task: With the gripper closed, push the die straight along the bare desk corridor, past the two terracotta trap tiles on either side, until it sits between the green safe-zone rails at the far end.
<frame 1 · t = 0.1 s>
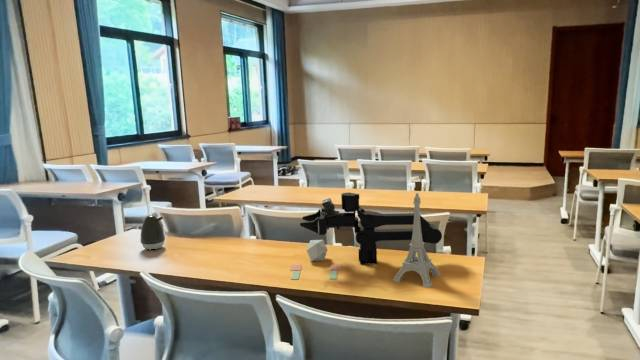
hand: (301, 221, 169), 17 cm above the table, tool horizontal, fingers open, 9 cm apart
pump dispenser: (154, 248, 195), on the table
die: (317, 260, 174), on the table
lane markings: (315, 271, 161), on the table
eiffel tower: (416, 278, 153), on the table
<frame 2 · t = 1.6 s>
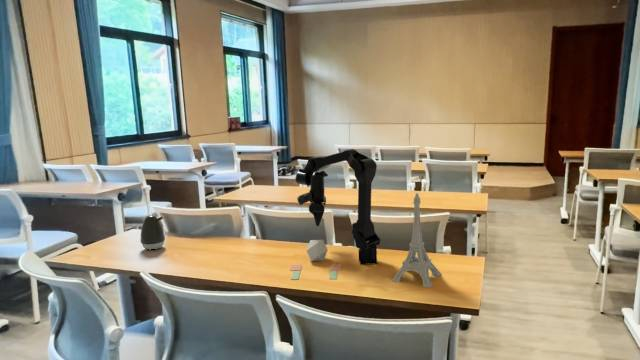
hand: (318, 222, 186), 11 cm above the table, tool pointing down, fingers open, 9 cm apart
nothing on the table moved.
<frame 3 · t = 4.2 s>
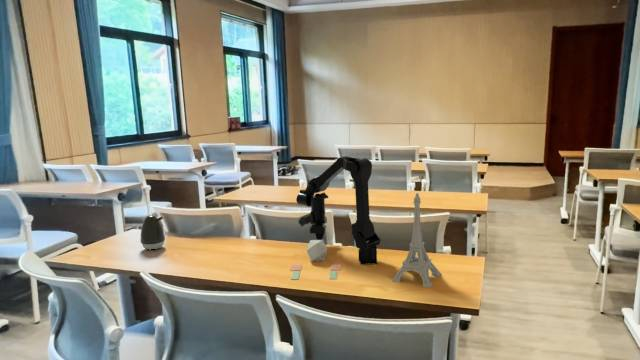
hand: (319, 243, 187), 2 cm above the table, tool pointing down, fingers closed
nothing on the table moved.
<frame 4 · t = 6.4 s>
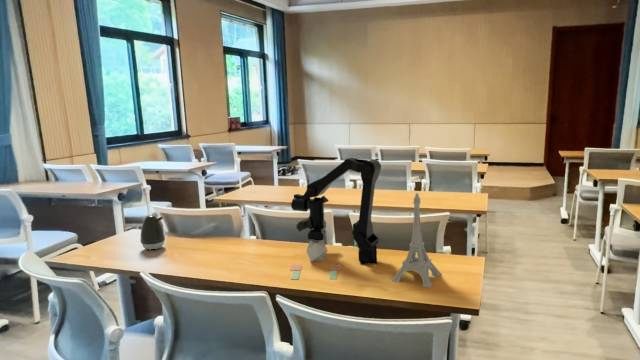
hand: (318, 249, 180), 2 cm above the table, tool pointing down, fingers closed
die: (317, 260, 173), on the table, touching gripper
everything else where it was.
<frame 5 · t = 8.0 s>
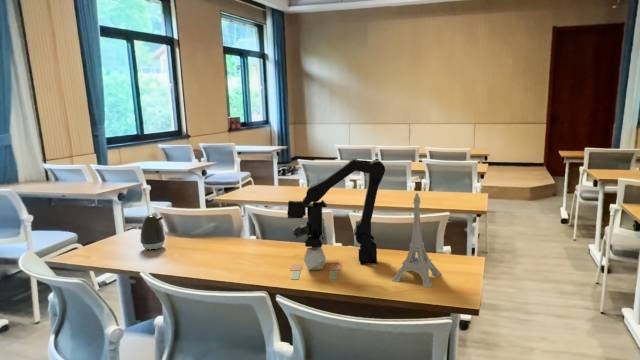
hand: (316, 257, 170), 2 cm above the table, tool pointing down, fingers closed
die: (315, 268, 164), on the table, touching gripper
everything else where it was.
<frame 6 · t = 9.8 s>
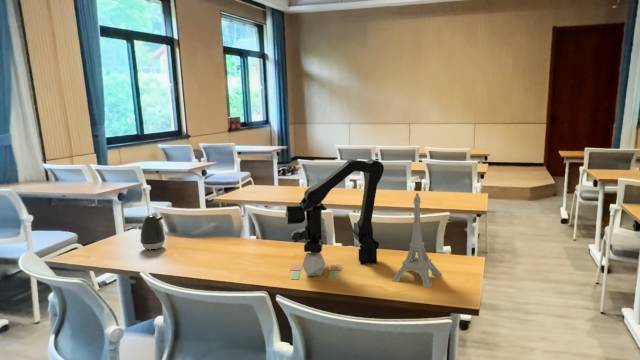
hand: (315, 262, 165), 2 cm above the table, tool pointing down, fingers closed
die: (314, 274, 159), on the table, touching gripper
everything else where it was.
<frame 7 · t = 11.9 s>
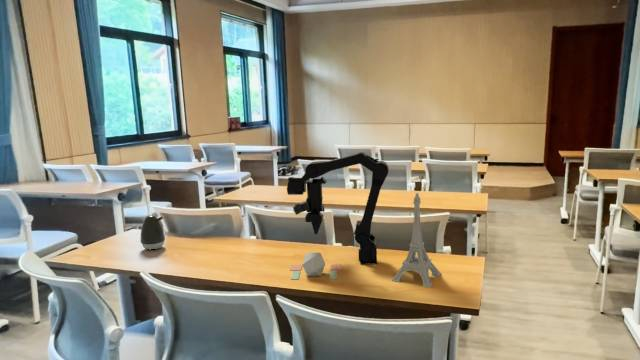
hand: (316, 234, 171), 11 cm above the table, tool pointing down, fingers closed
die: (314, 274, 159), on the table
everything else where it was.
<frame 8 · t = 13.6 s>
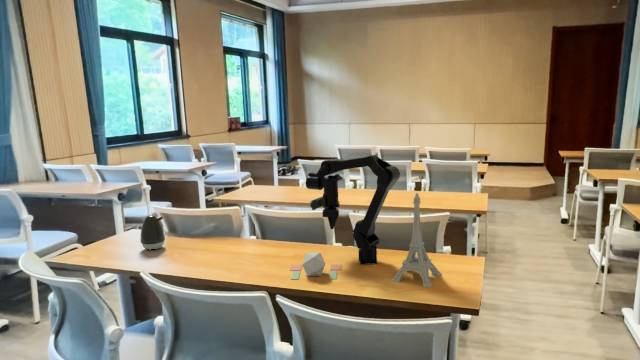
hand: (332, 228, 177), 11 cm above the table, tool pointing down, fingers closed
nothing on the table moved.
at the end: die inside the target area (0.8 cm from its centre), on the table; die tilted 0°; die moved 15.3 cm from its start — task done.
